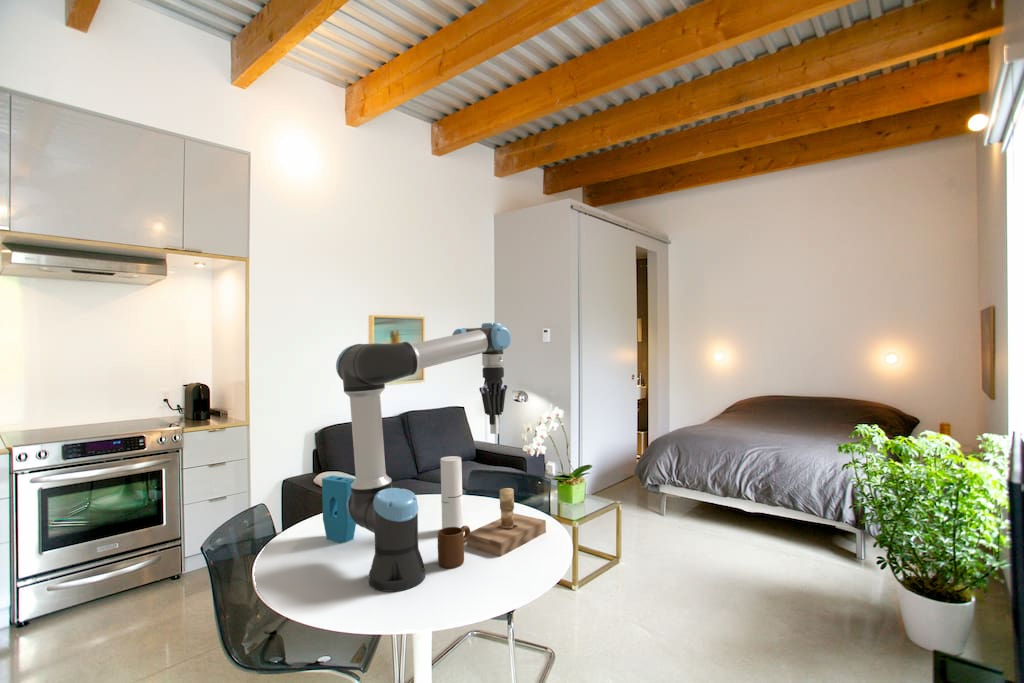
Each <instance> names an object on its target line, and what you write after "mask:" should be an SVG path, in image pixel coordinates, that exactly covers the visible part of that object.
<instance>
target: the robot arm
mask: <svg viewBox="0 0 1024 683" xmlns="http://www.w3.org/2000/svg"><path fill="white" fill-rule="evenodd" d="M480 326H481V327H471V328H469V327H468V328H467V327H466V328H465V327H463V328H457V329H454V331H453V332H452V335H449V336H448V335H447V336H444V337H438V338H434V339H433V338H432V339H430V340H429V339H428V340H424V341H419V342H415V343H410V342H408V341H403V342H402V341H401V342H397V343H356V344H353V345H350V346H347V347H345V348H344V349H343V350H341V352H340V353H339V355H338V357H337V359H336V363H335V369H336V372H337V375H338V377H339V378H340V379H341V380H342V383H343V385H342V387H343V393H344V394H345V395H347V396H348V397H349V404H350V417H351V428H352V429H351V430H352V442H353V443H352V445H353V458H354V470H355V473H354V474H355V478H354V479H355V480H354V481H353V483H352V484H351V494H350V495H349V496H348V499H347V512H348V514H349V516H350V518H351V519H352V520H353V521H354V522H355V523H356V526H360V527H361V528H364V529H366V530H367V531H369V532H371V533H373V534H374V555H373V559H372V563H371V567H370V570H369V572H368V584H369V586H370V587H371V588H372V589H375V590H377V591H381V592H397V591H403V590H407V589H412V588H413V587H416V586H418V585H419V584H421V583H422V582H423V581H424V580H425V578H426V565H425V564H424V561H423V556H422V555H421V552H420V549H419V523H418V522H419V520H418V519H419V518H418V516H419V514H418V513H419V506H418V499H417V496H416V494H415V492H413V491H411V490H409V489H406V488H399V487H393V483H392V482H393V481H392V478H391V477H389V475H387V472H386V470H387V469H386V461H385V460H386V459H385V444H384V443H385V442H384V430H383V419H382V418H383V416H382V403H381V394H382V392H383V391H384V390H385V388H386V387H385V386H386V385H385V384H387V383H391V382H393V381H396V380H399V379H403V378H406V377H409V376H413V375H415V374H416V373H417V372H418V370H421V369H426V368H429V367H433V366H434V367H435V366H438V365H441V364H444V363H449V362H452V361H457V360H461V359H464V358H468V357H471V356H475V355H479V354H482V356H481V359H482V360H481V365H482V366H483V367H482V378H483V379H484V381H483V382H484V383H483V386H482V387H481V386H480V387H479V392H480V394H481V399H482V405H483V410H484V414H485V415H487V416H489V428H490V434H493V435H498V434H500V416H501V415H502V414H503V412H504V408H505V400H506V399H505V398H506V392H507V389H508V385H506V384H504V383H503V382H504V381H503V379H502V378H504V377H505V371H504V370H505V367H503V366H504V350H506V349H507V348H509V346H510V344H511V341H512V336H511V332H510V330H509V329H508V328H507V327H505V326H503V325H502V323H500V322H485V323H481V325H480Z"/></svg>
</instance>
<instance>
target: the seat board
mask: <svg viewBox="0 0 1024 683" xmlns="http://www.w3.org/2000/svg"><path fill="white" fill-rule="evenodd" d="M513 521H514V524H513V529H511V530H509V531H508V530H504V529H502V524H501V517H499V519H496V520H494V521H492V522H490V523H486V524H485V525H482V526H480V527H478V528H476V529H474V530H470V537H469V539H468V541H467V542H466V546H467V547H468V548H471V549H476V550H478V551H482V552H486V553H489V554H493V555H496V556H500V557H503V556H504V555H506V554H508V553H510V552H512V551H514V550H516V549H517V548H519V547H521V546H523V545H525V544H527V543H528V542H530V541H532V540H534V539H536V538H538V537H540V536H541V535H543V534H546V532H547V526H546V524H547V522H546V520H545V519H540V518H536V517H532V516H527V515H522V514H519V513H514V512H513Z"/></svg>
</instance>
